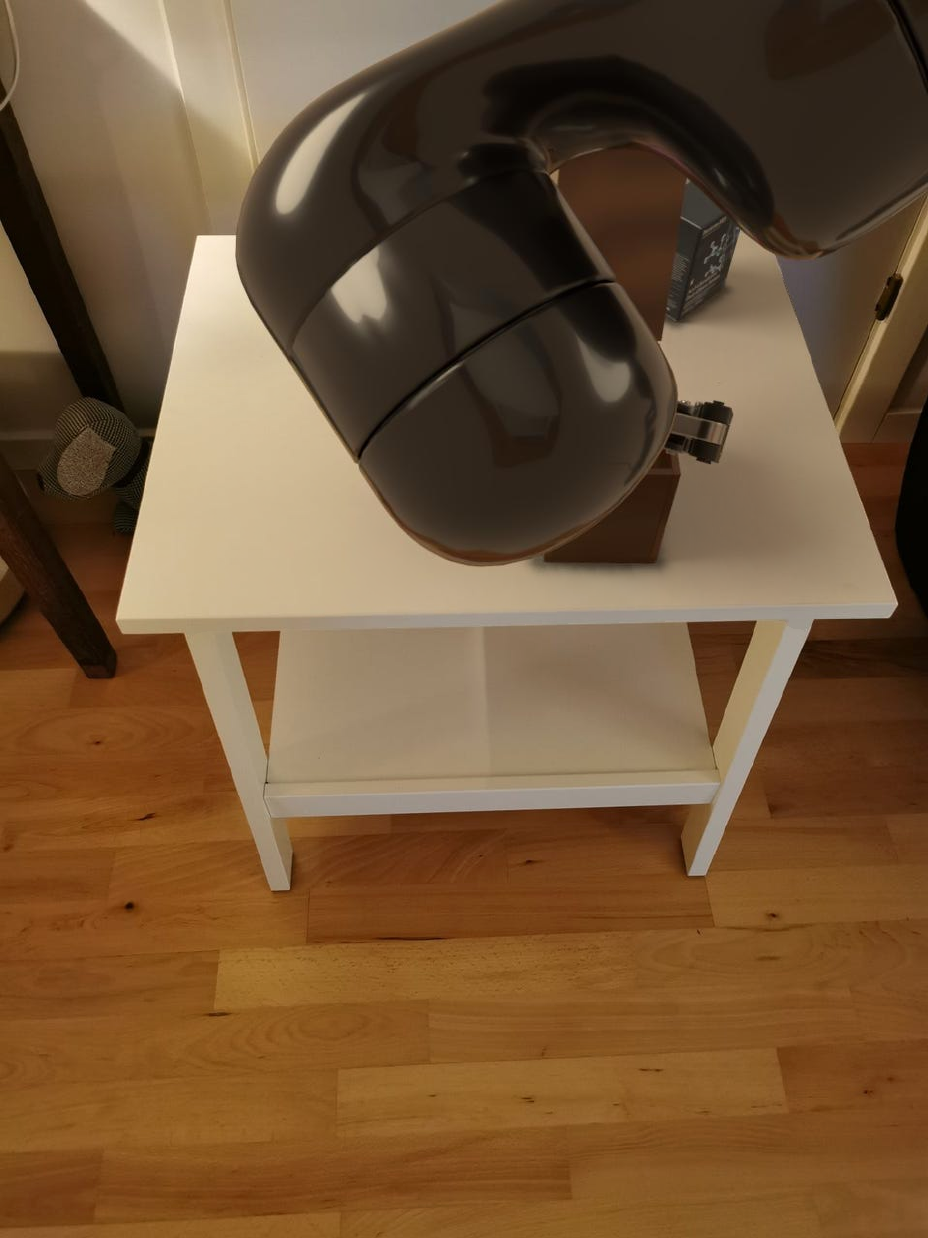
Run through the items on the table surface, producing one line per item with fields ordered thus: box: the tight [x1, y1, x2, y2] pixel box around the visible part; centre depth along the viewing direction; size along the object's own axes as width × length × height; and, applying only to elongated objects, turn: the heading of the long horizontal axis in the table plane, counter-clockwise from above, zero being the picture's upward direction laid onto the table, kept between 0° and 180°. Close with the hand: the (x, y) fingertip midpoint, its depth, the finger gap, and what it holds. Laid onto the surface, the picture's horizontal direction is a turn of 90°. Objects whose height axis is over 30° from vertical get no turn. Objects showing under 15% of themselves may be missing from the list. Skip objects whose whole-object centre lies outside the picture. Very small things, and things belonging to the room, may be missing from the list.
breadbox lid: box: [556, 150, 688, 342], centre depth 71 cm, size 14×9×1 cm
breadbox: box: [542, 343, 682, 564], centre depth 76 cm, size 14×9×11 cm, turn 0°
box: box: [665, 180, 741, 322], centre depth 91 cm, size 8×6×11 cm
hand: (595, 409), depth 52 cm, fingers open, 8 cm apart
